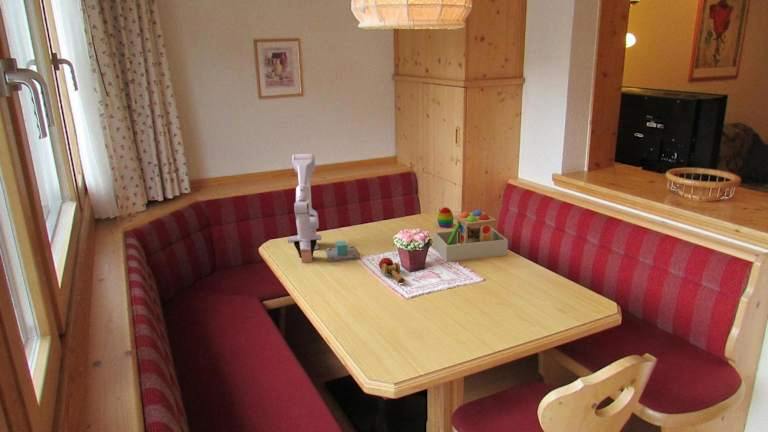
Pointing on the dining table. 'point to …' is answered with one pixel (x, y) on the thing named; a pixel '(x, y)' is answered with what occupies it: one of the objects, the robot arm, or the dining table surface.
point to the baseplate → (334, 257)
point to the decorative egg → (445, 218)
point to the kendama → (391, 269)
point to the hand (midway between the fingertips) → (306, 256)
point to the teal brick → (341, 248)
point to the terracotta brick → (306, 255)
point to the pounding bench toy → (470, 220)
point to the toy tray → (469, 247)
